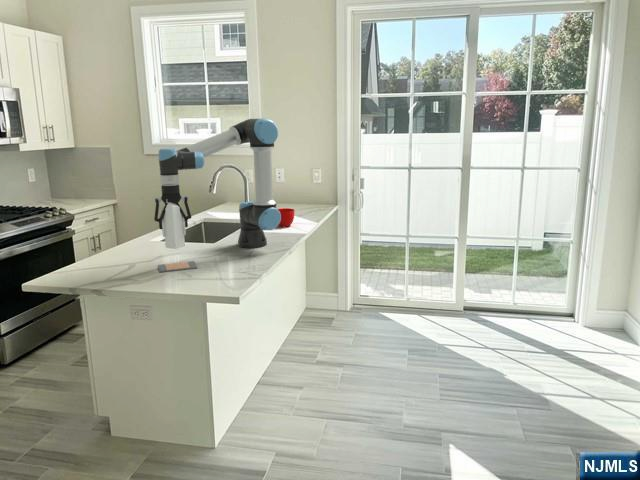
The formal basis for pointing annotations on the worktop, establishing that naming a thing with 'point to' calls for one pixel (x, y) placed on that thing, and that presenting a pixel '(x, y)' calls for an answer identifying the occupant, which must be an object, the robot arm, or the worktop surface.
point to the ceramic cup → (286, 217)
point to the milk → (173, 226)
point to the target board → (177, 266)
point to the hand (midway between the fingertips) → (174, 235)
